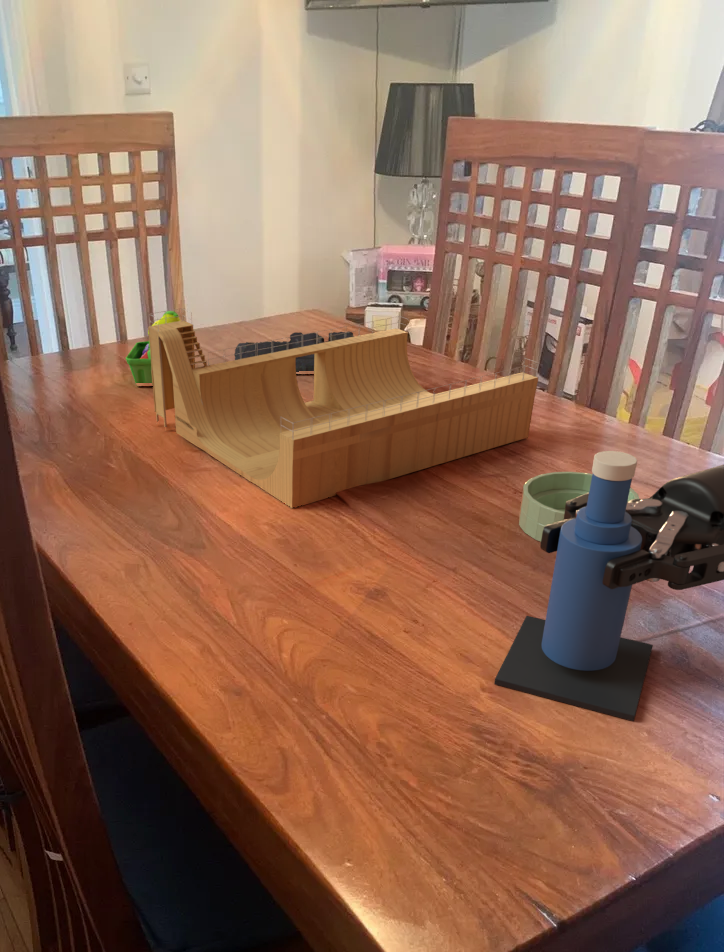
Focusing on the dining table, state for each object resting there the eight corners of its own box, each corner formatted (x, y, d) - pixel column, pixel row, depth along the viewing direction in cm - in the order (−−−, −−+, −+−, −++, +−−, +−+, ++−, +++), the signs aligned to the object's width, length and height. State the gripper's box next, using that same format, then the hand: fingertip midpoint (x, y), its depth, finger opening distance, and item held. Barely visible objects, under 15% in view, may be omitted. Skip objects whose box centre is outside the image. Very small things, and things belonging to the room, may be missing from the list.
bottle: (583, 624, 76) (619, 438, 67) (631, 660, 71) (677, 465, 62) (526, 640, 74) (556, 451, 65) (572, 678, 69) (611, 479, 60)
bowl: (581, 500, 102) (587, 465, 100) (655, 542, 93) (664, 504, 91) (496, 518, 99) (501, 482, 96) (565, 564, 89) (572, 525, 87)
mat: (525, 620, 80) (526, 615, 80) (651, 650, 75) (653, 644, 75) (493, 684, 72) (494, 678, 71) (633, 721, 67) (635, 715, 67)
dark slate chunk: (233, 353, 160) (232, 327, 158) (351, 350, 161) (352, 324, 159) (235, 377, 147) (234, 349, 145) (363, 373, 148) (364, 345, 146)
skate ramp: (291, 516, 102) (292, 383, 93) (155, 425, 127) (146, 313, 118) (527, 444, 121) (546, 327, 112) (368, 377, 146) (374, 277, 137)
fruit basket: (139, 370, 152) (133, 304, 146) (189, 370, 152) (185, 303, 146) (127, 390, 142) (120, 319, 136) (181, 389, 142) (176, 319, 136)
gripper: (787, 585, 70) (637, 643, 63) (646, 518, 81) (506, 561, 74) (815, 500, 66) (659, 552, 59) (663, 442, 77) (517, 480, 70)
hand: (575, 557), depth 67 cm, fingers closed on bottle, 6 cm apart
